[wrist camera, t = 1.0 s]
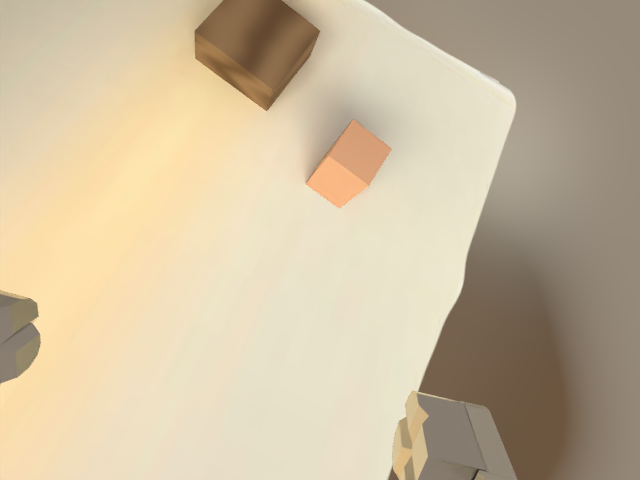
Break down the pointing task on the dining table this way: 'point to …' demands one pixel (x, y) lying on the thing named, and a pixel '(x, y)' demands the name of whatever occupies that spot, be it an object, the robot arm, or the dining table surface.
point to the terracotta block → (349, 165)
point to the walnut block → (255, 46)
